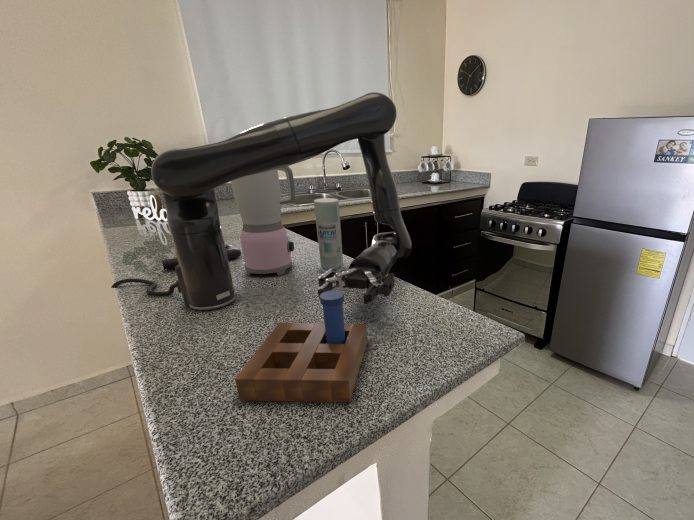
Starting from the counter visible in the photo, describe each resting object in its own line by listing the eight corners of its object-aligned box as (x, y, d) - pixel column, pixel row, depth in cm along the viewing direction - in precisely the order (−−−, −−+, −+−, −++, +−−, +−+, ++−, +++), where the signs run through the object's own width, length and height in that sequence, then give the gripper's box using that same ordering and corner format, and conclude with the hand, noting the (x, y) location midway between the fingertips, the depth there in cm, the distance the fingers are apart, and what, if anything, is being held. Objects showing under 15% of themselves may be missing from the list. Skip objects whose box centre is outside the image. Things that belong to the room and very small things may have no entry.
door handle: (157, 250, 106) (161, 262, 94) (230, 240, 118) (242, 249, 106) (160, 261, 107) (165, 273, 95) (232, 249, 119) (244, 259, 107)
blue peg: (323, 362, 60) (316, 299, 56) (329, 349, 64) (323, 290, 59) (345, 362, 60) (340, 300, 56) (350, 350, 64) (345, 290, 59)
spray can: (345, 265, 104) (339, 198, 97) (342, 273, 99) (337, 202, 91) (322, 265, 104) (315, 198, 96) (319, 273, 98) (311, 202, 90)
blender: (239, 278, 93) (213, 152, 81) (253, 263, 104) (232, 150, 92) (300, 276, 96) (284, 153, 84) (307, 261, 107) (294, 150, 95)
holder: (239, 401, 51) (234, 378, 50) (282, 340, 66) (279, 322, 65) (350, 402, 51) (348, 380, 50) (367, 342, 66) (366, 323, 65)
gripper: (340, 248, 77) (303, 274, 62) (403, 252, 75) (380, 281, 60) (342, 279, 80) (308, 311, 65) (403, 284, 77) (382, 319, 63)
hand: (343, 297), depth 62 cm, fingers open, 8 cm apart
